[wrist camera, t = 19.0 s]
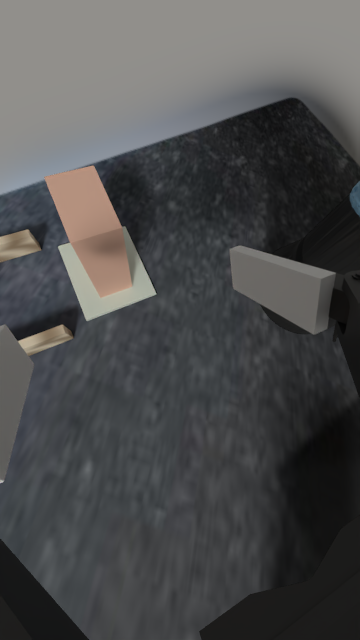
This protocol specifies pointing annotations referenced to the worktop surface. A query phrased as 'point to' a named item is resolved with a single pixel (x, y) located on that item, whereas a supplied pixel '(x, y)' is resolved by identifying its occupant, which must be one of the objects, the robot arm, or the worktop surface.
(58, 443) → the worktop surface
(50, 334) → the birch bay
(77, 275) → the sage mat
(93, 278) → the peach block
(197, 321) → the worktop surface
